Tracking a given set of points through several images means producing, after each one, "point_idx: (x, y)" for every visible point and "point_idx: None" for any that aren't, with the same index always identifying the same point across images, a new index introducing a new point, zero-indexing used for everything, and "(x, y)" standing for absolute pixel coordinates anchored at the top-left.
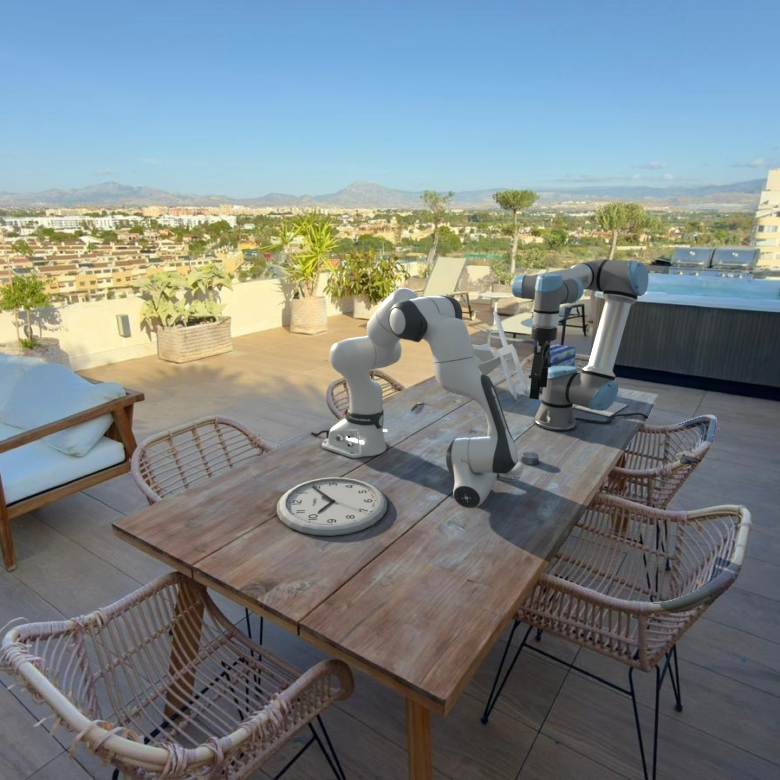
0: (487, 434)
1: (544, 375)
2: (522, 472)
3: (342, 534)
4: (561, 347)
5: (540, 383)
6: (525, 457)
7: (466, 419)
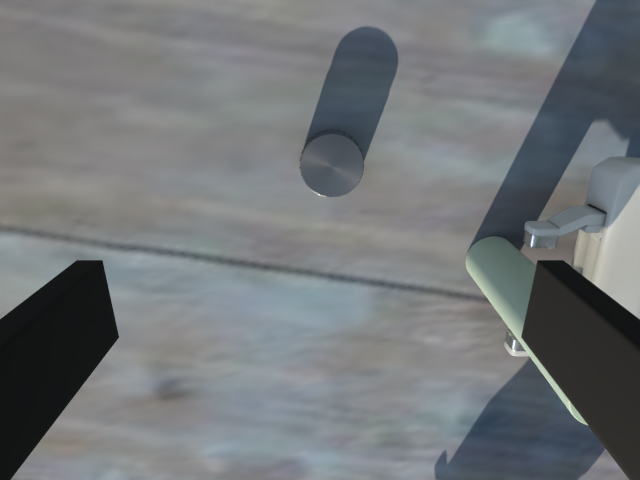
0: None
1: (17, 377)
2: (613, 157)
3: None
4: None
5: (94, 338)
6: (359, 180)
7: (76, 432)
